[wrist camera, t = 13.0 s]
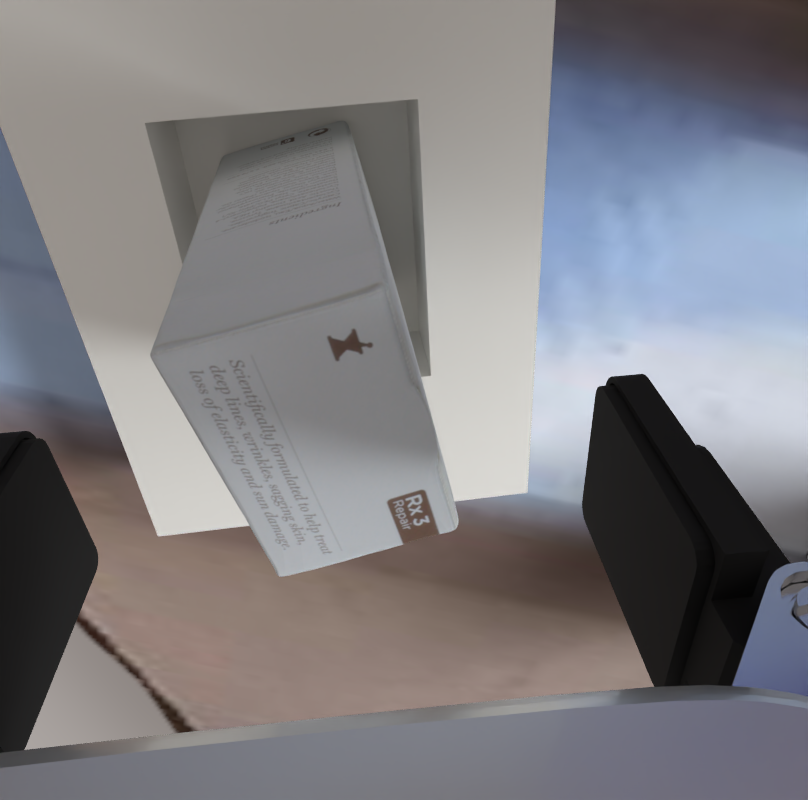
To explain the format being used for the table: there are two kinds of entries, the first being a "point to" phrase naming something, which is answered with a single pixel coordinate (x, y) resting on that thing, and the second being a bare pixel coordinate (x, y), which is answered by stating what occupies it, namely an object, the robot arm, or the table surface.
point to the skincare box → (304, 358)
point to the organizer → (269, 120)
